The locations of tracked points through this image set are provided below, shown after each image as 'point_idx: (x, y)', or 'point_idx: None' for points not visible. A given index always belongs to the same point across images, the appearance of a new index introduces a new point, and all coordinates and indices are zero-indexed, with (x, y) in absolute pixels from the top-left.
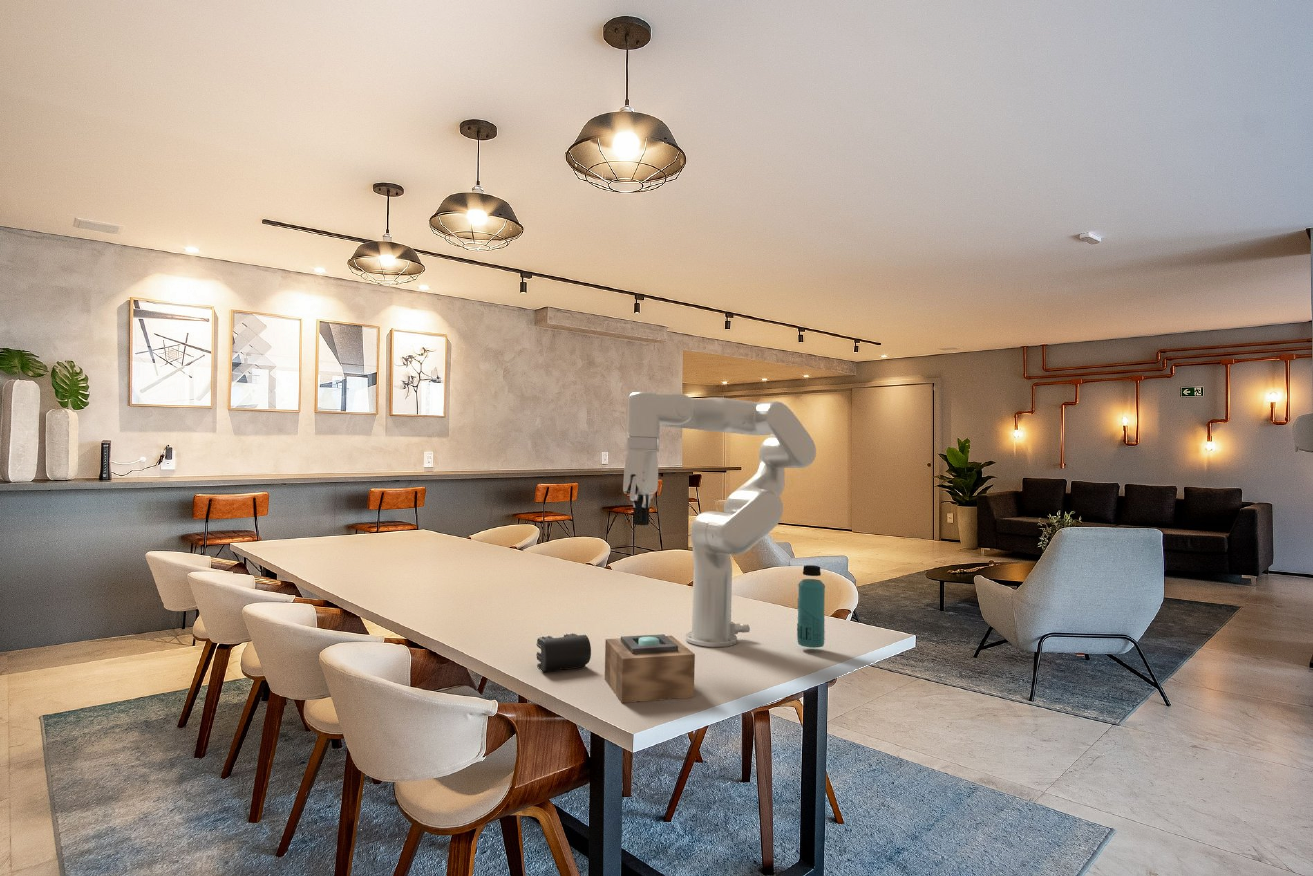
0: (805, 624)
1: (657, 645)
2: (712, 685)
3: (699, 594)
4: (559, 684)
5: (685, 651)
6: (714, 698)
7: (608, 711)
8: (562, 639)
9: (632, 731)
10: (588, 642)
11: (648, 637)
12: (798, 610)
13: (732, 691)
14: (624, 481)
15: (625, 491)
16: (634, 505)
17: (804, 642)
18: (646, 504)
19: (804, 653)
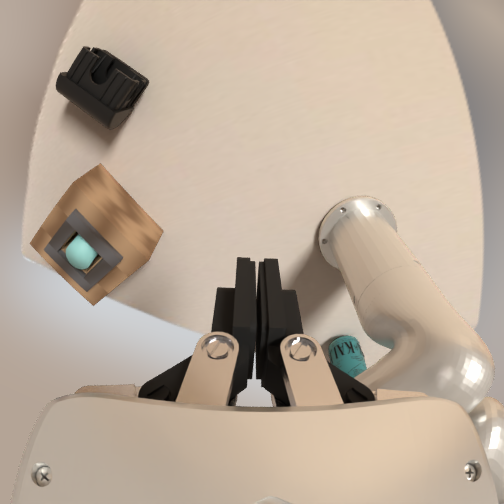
0: (334, 364)
1: (72, 270)
2: (155, 283)
3: (355, 267)
4: (59, 125)
5: (94, 295)
6: (121, 292)
7: (35, 217)
8: (77, 95)
9: (23, 253)
10: (106, 125)
11: (84, 253)
12: (349, 369)
13: (150, 302)
14: (17, 485)
15: (92, 409)
16: (196, 351)
17: (331, 347)
18: (271, 394)
19: (328, 337)
